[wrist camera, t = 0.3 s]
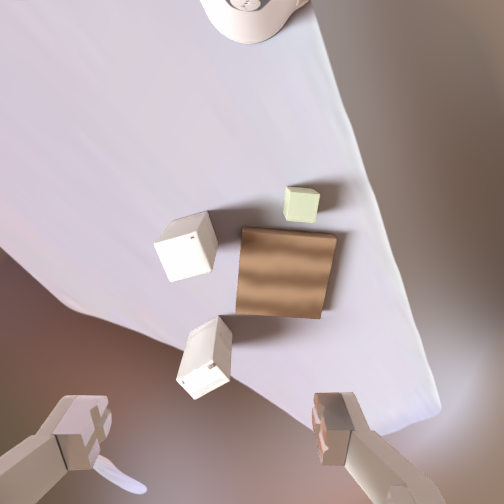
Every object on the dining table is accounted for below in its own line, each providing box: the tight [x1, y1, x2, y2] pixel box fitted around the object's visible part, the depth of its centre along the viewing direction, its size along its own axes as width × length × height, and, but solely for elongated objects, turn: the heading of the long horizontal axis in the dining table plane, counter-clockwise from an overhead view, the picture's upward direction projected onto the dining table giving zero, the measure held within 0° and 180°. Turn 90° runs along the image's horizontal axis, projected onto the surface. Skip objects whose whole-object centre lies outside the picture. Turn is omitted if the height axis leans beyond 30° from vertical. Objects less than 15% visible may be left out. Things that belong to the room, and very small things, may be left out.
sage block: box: [283, 186, 320, 223], centre depth 52 cm, size 5×5×6 cm
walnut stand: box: [235, 227, 337, 319], centre depth 59 cm, size 18×18×3 cm
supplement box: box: [154, 211, 218, 282], centre depth 51 cm, size 7×7×13 cm
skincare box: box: [176, 316, 232, 399], centre depth 58 cm, size 8×6×15 cm
